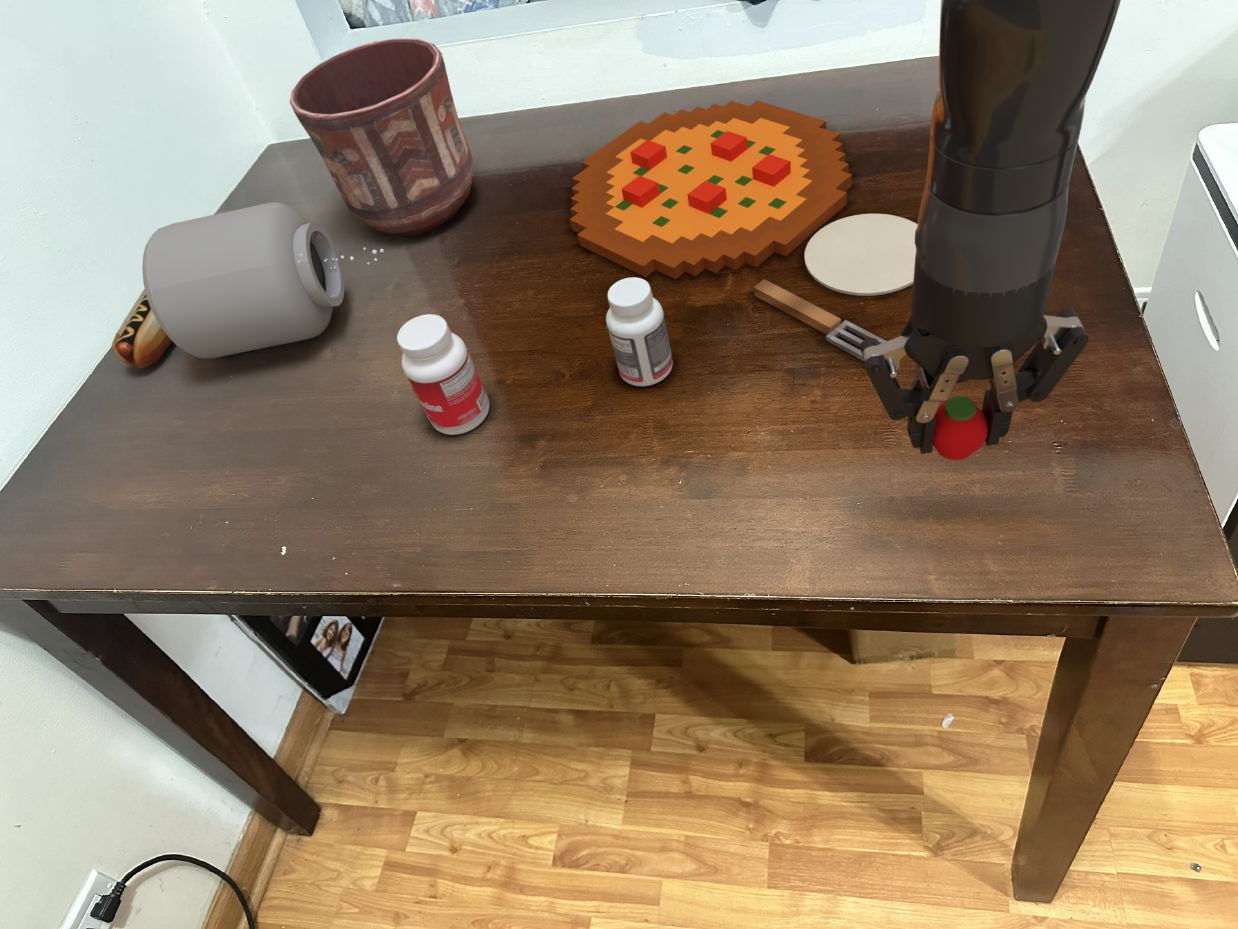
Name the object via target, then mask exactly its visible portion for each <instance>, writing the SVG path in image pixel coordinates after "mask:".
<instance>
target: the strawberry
mask: <svg viewBox="0 0 1238 929" xmlns="http://www.w3.org/2000/svg"><path fill="white" fill-rule="evenodd" d="M934 417H935V420H936V425H935V433H934V441H933V448H935V449H936V451H937V453H938V454H939V455H940V456H941V457H943V458H944V459H946V460H951V461H962V460H965V459H967V458H969V457H970V456H971V455H973V453H975V452H976V451H978V450H979V449H980V448H981V447H982V446H983V444H984V443H985V440H986V437H987V434H988V423H987V419H986V417H985V415H984V413H983V412H982V408H980V407H979V406H978V405H977V404H976V403H975V401H974V399H973V400H972V399H971V398H969V397H968V396H963V395H956V396H953V397H950V398H948V400H947V401H946V402H943V403H941V404H940V406H939V408H938V410H937V412H936V414H935V416H934Z"/></svg>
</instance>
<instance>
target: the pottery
mask: <svg viewBox="0 0 1238 929" xmlns="http://www.w3.org/2000/svg"><path fill="white" fill-rule="evenodd" d="M289 104H290V106H291V108H292V110H293V113H294V114H295V117H296V118H297V119H298V122H299V124H300V125H301V126H302V127H303V129H304V131H305V132H306V134H307V135H308V137H309V138H310V139H311V141H312V143H313V144H314V146H315V149H316V150H317V152H318V153H319V155H320V158H322V161H323V162H324V164H325V166H326V168H327V170H328V172H329V174H330V176H331V178H332V180H333V182H334V184H335V186H336V188H337V190H338V192H339V194H340V197H341V198H342V200H343V202H344V203H345V205H346V206H347V208H348V209H349V211H350V213H352V215H353V216H354V217H355V218H356V219H358V220H359V221H360V222H362V223H363V224H364V225H366V226H367V227H369V228H371V229H373V230H375V231H377V232H380V233H382V234H383V233H384V234H387V235H390V236H395V237H396V236H397V237H411V236H418V235H421V234H425V233H428V232H430V231H432V230H434V229H437V228H438V227H441V226H443V225H444V224H446V223H447V222H448V221H449V220H451V219H452V218H453V217H455V216H456V214H457V213H458V212H459V210H460V209H461V207H462V206H463V205H464V203H465V201H466V199H467V198H468V197H469V195H470V193H471V188H472V183H473V176H474V175H473V174H474V159H473V156H472V152H471V148H470V146H469V143H468V141H467V137H466V135H465V132H464V130H463V127H462V124H461V122H460V119H459V116H458V112H457V108H456V105H455V101H454V97H453V94H452V89H451V86H450V82H449V77H448V72H447V68H446V64H445V59H444V56H443V53H442V51H441V50H440V49H439V48H438V47H437V45H435V43H432V42H429V41H426V40H422V39H419V38H401V37H400V38H389V39H383V40H375V41H372V42H368V43H365V44H362V45H359V46H354V47H352V48H349V49H347V50H345V51H343V52H340V53H338V54H336V55H333V56H332V57H329V58H328V59H326V60H324V61H323V62H321V63H319V64H317V65H316V66H315V67H313V68H312V69H310V70H309V71H308V72H307V73H305V74H304V75H303V76H302V77H301V78H300V79H299V81H298V82H297V83H296V84H295V86H294V87H293V89H291V93H290V99H289Z"/></svg>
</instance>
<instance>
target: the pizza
mask: <svg viewBox="0 0 1238 929" xmlns="http://www.w3.org/2000/svg"><path fill="white" fill-rule="evenodd" d="M840 135H841V134H840V132H837V131H834V130H833V131H832V130H829V129H827V120H824V119H821V118H818V117H814V116H811V115H808V114H804V113H801V112H797V111H794V110H790V109H787V108H784V107H780V106H777V105H773V104H770V103H768V102H763V101H760V100H756V101H754V102H753V103H751V104H750V105H747V104H743V103H740V102H737V101H734V100H730V101H728V102H727V103H726V104H724V105H720V104H717V103H713V104H712V105H710V106H708V108H704V107H700V106H697V107H695V108H694V109H691V111H687V110H685V109H680V110H678V111H677V112H675V113H674V114H671V113H668V112H663V113H661V114H660V115H659V116H657V117H655V119H653V120H652V121H650V122H644V121H642V120H639V121H638V122H636V123H635V124H634V125H632V126H631V127H629V128H628V129H627V130H625V131H623V132H622V133H621V134H619V135H618V136H617V137H615V138H613V139H612V140H611V141H610V142H608V143H607V144H605V145H603V147H601V148H600V149H598V150H597V151H596V152H594V153H593V154H591V155H589V156H588V157H586V158H585V159H583V161H581V166H582V170H581V171H579V172H578V173H577V174H576V175H574V176H573V177H572V179H571V180H572V184H573V186H572V187H571V192H572V197H570V201H571V204H572V207H570V208H569V209H570V214H571V217H570V218H569V219H568V220H569V224H570V227H571V231H573V232H575V233H577V239H578V242H579V246H580V247H582V248H583V249H586V250H588V251H590V252H592V253H594V254H595V255H598V256H601V257H602V258H604V259H607V260H608V261H611V262H613V263H615V264H617V265H619V266H621V267H623V268H625V269H627V270H630V271H631V272H634V273H635V274H638V275H640V276H642V277H643V278H647V277H648V276H650V275H651V274H652V273H653V272H654V271H657V272H659V273H661V274H664V275H665V276H668V277H669V278H672V279H674V280H677V279H679V277H681V276H682V275H683V274H684V273H686V274H689V275H692V276H694V277H697V276H698V275H699V274H700V273H702V272H703V271H705V270H706V271H708V272H711V273H713V274H717V273H718V272H719V271H720V270H722V269H723V268H724V267H727V268H729V269H732V270H733V271H737V270H738V269H740V268H741V267H742V266H744V265H745V264H747V265H750V266H752V267H754V268H758V267H759V266H760V265H761V264H763V262H765V261H766V260H767V259H769V258H770V257H771V256H772V255H773V254H774V253H775V254H779V255H780V256H783V257H787V256H789V255H790V254H791V253H792V252H793V251H794V250H796V249H797V248H798V247H799V246H800V245H801V244H803V243H804V242H805V241H807V239H808V238H810V237H812V236H813V235H814V234H815V233H816V232H817V231H819V230H820V229H821V227H822V226H824V225H825V224H826V223H827V222H828V221H829V220H831V219H832V218H833V217H834V216H836V214H837V213H839V212H840V211H841V210H842V209H844V207H846V206H847V203H848V192H847V191H848V190H849V189H850V188H851V187H853V174H852V173H850V172H849V171H850V164H849V163H848V162H846V160H847V159H846V157H847V156H846V155H847V154H846V153H845V152H843V149H844V148H843V146H844V143H843V142H841V140H840V138H841V136H840Z"/></svg>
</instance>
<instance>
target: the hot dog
mask: <svg viewBox="0 0 1238 929" xmlns="http://www.w3.org/2000/svg"><path fill="white" fill-rule="evenodd" d="M172 343H173V341H172V340H171V339H170V338H169V337H168V335H167V334H166V333H165V331H164V330H163V329H162V327H161V326H160V325H159V323H158V321H157V319H156V318H155V316H154V314H153V312H152V309H151V307H150V305H149V302H148V299H147V296H146V292H145V288H144V289H143V290H142V292H141V293H140V294H139V296H138V298H137V299H136V301H135V302H134V304H133V306H132V307H131V309H130V310H129V312H128V313H127V315H126V317H125V318H124V320H123V322H122V323H121V325H120V327H119V328H118V330H117V332H116V333H115V336H114V338H113V340H112V342H111V348H112V350H113V352H114V353H115V355H116V356H117V357H118V359H119V360H120V362H122V363H124V364H125V365H128V366H131V367H133V368H139V369H145V368H147V367H149V366H151V365H153V364H154V363H156V362H158V361H160V359H162V357H163V356H164V354H165V353H166V351H167V350H168V348H169V347H170V346H171V345H172Z"/></svg>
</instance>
